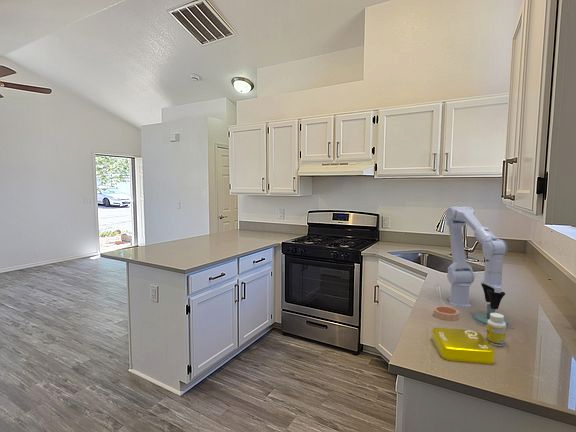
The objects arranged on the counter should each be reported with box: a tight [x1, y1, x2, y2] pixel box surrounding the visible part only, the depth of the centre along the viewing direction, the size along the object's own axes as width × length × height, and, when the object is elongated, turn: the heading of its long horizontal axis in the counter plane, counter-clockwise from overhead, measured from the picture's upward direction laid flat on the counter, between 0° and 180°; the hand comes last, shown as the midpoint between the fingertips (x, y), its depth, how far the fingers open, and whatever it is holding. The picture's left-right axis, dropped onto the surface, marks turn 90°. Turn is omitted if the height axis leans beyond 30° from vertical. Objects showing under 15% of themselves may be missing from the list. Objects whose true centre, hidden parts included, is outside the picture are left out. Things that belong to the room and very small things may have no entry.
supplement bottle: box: [486, 312, 507, 347], centre depth 108 cm, size 5×5×10 cm
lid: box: [474, 303, 509, 325], centre depth 125 cm, size 11×11×6 cm
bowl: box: [432, 305, 460, 322], centre depth 130 cm, size 9×9×3 cm
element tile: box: [431, 327, 495, 365], centre depth 104 cm, size 15×15×5 cm
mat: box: [470, 312, 515, 330], centre depth 126 cm, size 12×12×1 cm
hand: (491, 305), depth 125 cm, fingers open, 7 cm apart
